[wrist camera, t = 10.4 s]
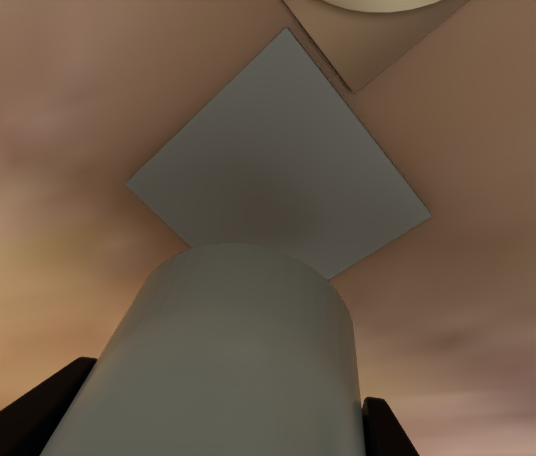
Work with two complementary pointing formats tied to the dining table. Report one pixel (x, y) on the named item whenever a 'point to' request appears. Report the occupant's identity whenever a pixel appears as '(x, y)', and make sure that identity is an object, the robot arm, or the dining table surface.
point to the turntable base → (367, 34)
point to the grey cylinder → (223, 365)
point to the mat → (280, 169)
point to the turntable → (380, 4)
